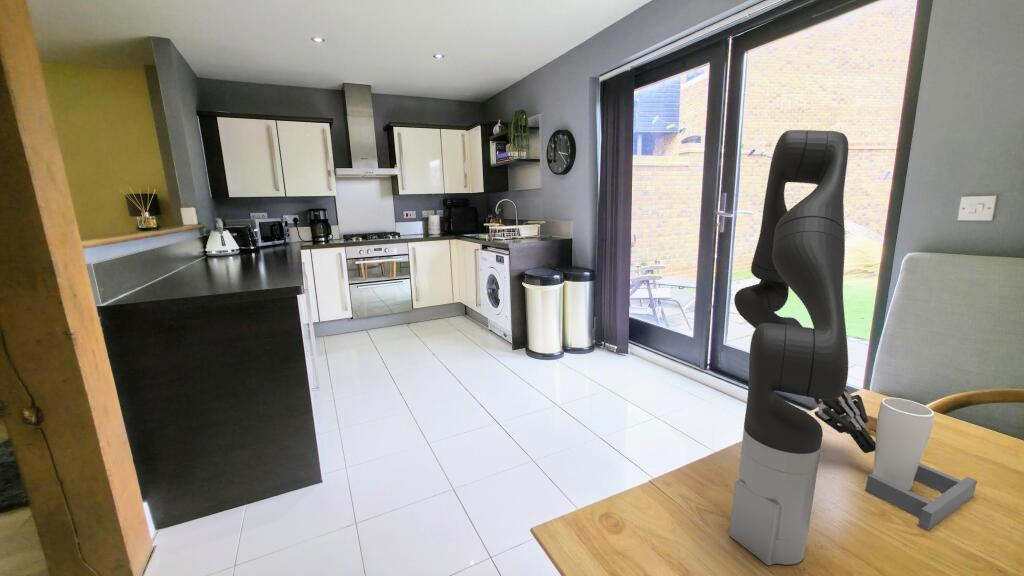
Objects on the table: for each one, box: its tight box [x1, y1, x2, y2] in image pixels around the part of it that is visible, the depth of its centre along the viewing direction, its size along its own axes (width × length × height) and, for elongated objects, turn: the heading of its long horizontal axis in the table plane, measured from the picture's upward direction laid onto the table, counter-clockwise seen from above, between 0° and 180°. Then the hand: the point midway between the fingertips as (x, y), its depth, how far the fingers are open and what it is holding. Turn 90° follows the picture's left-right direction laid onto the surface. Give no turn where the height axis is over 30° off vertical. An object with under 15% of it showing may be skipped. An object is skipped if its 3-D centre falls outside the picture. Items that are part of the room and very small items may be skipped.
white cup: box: [871, 397, 935, 491], centre depth 72 cm, size 7×7×15 cm
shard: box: [859, 415, 878, 438], centre depth 90 cm, size 11×8×2 cm
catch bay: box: [864, 462, 978, 531], centre depth 70 cm, size 17×9×3 cm, turn 116°
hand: (871, 450), depth 75 cm, fingers closed
